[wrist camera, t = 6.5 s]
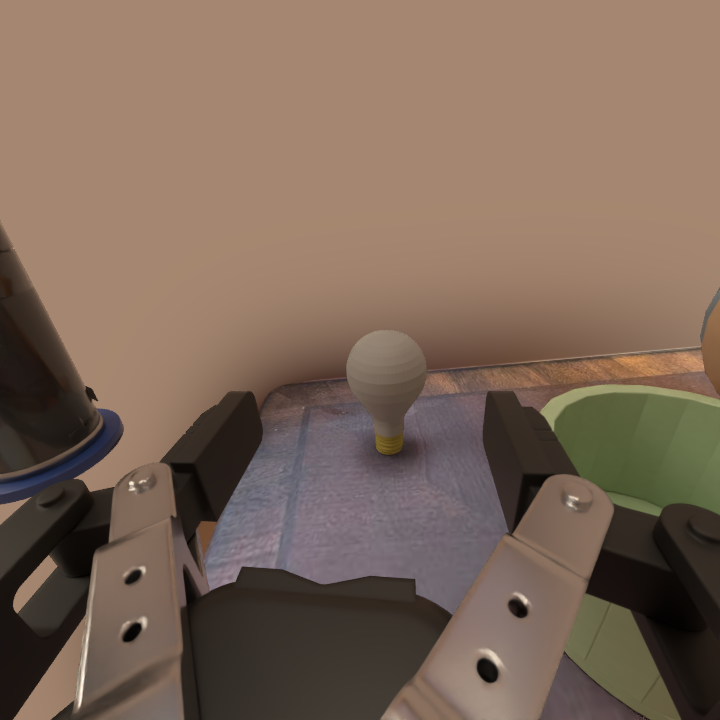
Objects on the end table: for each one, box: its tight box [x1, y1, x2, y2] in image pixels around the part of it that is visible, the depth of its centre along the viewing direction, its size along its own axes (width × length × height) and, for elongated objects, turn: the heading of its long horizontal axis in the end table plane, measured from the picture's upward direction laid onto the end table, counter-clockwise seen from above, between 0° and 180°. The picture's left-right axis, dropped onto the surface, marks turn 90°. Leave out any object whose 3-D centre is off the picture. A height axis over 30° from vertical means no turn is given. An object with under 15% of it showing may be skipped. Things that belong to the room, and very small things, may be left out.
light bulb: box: [346, 330, 427, 455], centre depth 25 cm, size 6×6×10 cm
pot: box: [540, 384, 720, 720], centre depth 15 cm, size 12×12×8 cm
